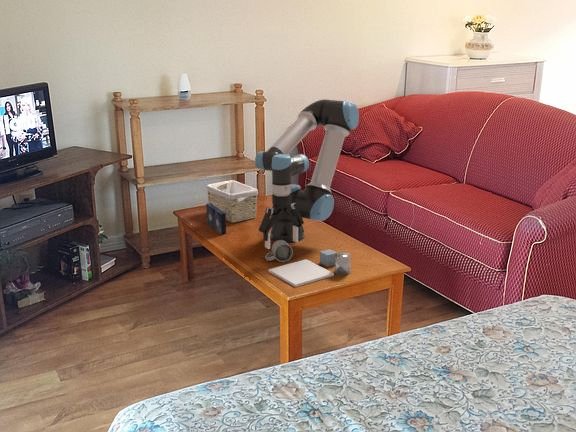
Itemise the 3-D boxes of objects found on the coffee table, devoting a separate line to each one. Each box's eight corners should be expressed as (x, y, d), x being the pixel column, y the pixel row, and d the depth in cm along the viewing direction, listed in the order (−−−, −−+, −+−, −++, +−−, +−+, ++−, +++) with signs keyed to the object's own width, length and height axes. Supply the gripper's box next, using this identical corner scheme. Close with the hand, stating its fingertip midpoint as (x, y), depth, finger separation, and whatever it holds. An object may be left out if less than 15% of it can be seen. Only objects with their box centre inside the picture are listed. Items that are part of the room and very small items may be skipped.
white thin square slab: (306, 261, 271) (306, 259, 271) (333, 275, 257) (333, 273, 256) (268, 271, 261) (268, 269, 261) (295, 287, 247) (295, 284, 247)
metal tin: (343, 267, 264) (343, 251, 262) (353, 272, 260) (353, 255, 257) (331, 271, 261) (331, 254, 259) (341, 276, 256) (341, 259, 254)
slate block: (329, 260, 272) (329, 248, 270) (337, 264, 268) (337, 252, 267) (319, 263, 269) (319, 251, 268) (327, 267, 265) (327, 255, 264)
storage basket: (206, 212, 334) (204, 184, 330) (234, 206, 343) (233, 178, 339) (231, 225, 316) (230, 194, 311) (260, 218, 325) (259, 189, 320)
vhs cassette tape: (226, 234, 304) (225, 213, 300) (220, 235, 302) (219, 214, 299) (212, 222, 319) (211, 202, 316) (206, 223, 318) (205, 203, 315)
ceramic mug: (288, 254, 279) (287, 236, 277) (293, 261, 271) (292, 243, 269) (263, 257, 277) (262, 239, 274) (267, 264, 269) (266, 246, 267)
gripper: (260, 200, 256) (260, 253, 262) (312, 191, 269) (312, 241, 276) (249, 196, 262) (250, 248, 268) (301, 187, 275) (301, 236, 281)
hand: (281, 244), depth 272 cm, fingers open, 13 cm apart
